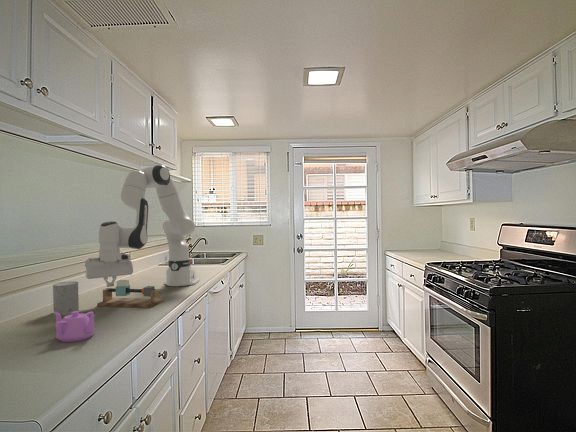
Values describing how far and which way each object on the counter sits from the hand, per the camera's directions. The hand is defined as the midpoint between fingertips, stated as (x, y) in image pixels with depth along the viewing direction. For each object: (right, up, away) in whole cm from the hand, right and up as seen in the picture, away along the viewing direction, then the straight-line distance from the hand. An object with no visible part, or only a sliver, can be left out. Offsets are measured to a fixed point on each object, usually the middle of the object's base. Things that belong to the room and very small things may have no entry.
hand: (110, 286), depth 185 cm
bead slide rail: (+10, -4, -2) cm, 11 cm away
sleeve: (+6, -4, -1) cm, 8 cm away
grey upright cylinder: (-11, -8, -16) cm, 22 cm away
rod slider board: (+10, -8, -2) cm, 13 cm away
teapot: (+11, -9, -51) cm, 52 cm away
